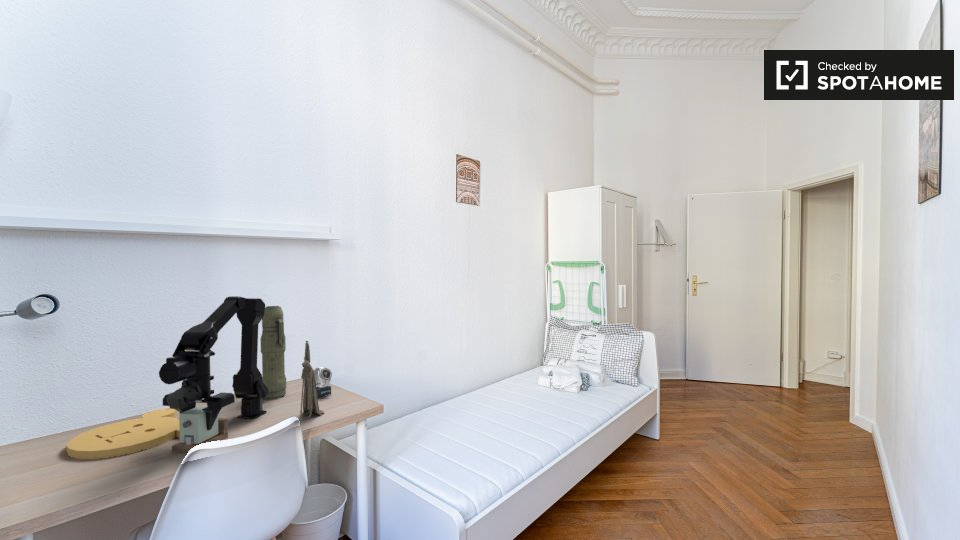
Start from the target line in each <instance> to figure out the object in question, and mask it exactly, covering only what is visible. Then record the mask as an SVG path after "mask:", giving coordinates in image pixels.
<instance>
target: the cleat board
mask: <svg viewBox="0 0 960 540" xmlns="http://www.w3.org/2000/svg"><path fill="white" fill-rule="evenodd" d="M228 420H229V419H228V418H220V417H218V434H217V435H215V436H213V437H211V438H209V439H207V440H205V441H203V442H201V443H206V442H211V441H217V440H221V441H223V440H225V439H227V438H228V437H229V428H228V427H229V425H228V424H229V423H228ZM201 443H199V444H201ZM199 444H194V436H193V435H190V436H188V437H186V442H185V443H180V441H179V442H177V443H175V444H173V445H171V452H174V451H176V452H175V453H177V451H178V453H188V451H189V450H190V449H191V448H193V447H194V446H196V445H199Z"/></svg>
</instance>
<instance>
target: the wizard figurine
mask: <svg viewBox="0 0 960 540" xmlns="http://www.w3.org/2000/svg"><path fill="white" fill-rule="evenodd" d="M304 345H305V346H304V357H303V362H302V363H301V366H302V371H301V376H300V377H301V378H300V379H302V386H301V402H300V412H299V413H300V414H299V415H300V418H302V413H303V412H306V413H305V414H306V415H308V416H307V417H306V419H310V418H311V417H312V416H313V413H315V414H317V415H318V416H321V417H322V416H323V415H324V414H325V411H324V410H321V409H320V405H319V400H318V399H319V398H317V390H316V387H317V386H316V381H315V375H314V370H315V369H314V368H313V367H312V364H311V352H310V350H311V349H310V344H309V341H308V340H305V344H304Z"/></svg>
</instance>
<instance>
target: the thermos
mask: <svg viewBox="0 0 960 540" xmlns="http://www.w3.org/2000/svg"><path fill="white" fill-rule="evenodd" d="M261 327H262V328H261V329H262V330H261V337H260V354H261V364H262V366H261V367H262V369H261V370H262V371H261V372H262V373H261V374H262V382H263V383H264V384H265V385H266V387H267V388H268V395H267V396H266V397H265V398H262V400H274V399H273V398H276V399H279V398H278V397H281V398H283V397H285V396H286V395H287V390H286V389H287V377H286V373H285V372H286V371H285V369H286V367H285V352H286V348H287V347H286V342H287V341H286V335H285V322H284V311H283V309H282V307H281V306H280V305H268V306H265V311H264V317H263V318H262V320H261ZM285 394H286V395H285ZM284 395H285V396H284ZM282 396H283V397H282Z"/></svg>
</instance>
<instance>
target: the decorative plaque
mask: <svg viewBox="0 0 960 540" xmlns="http://www.w3.org/2000/svg"><path fill="white" fill-rule="evenodd" d="M176 411H177V410H175V409H170V408H161V409H156V410H151V411H148V412H146V413H144V414H141V417H139V418H135V419H134V418H133V419H128V420H122V421H118V422H113V423H109V424H105V425H103V426H99V427H95V428H93V429H90V430H87V431H83V432H82V433H80V434H77V435H76V436H74V437H73V438H70V440H69V441H68V442H67V443H66V454H67V453H68V454H67V456H68V455H69V456H70V457H69V456H68V457H69V458H72V457H73V458H72V459H75V458H76V460H98V459H99V460H101V459H100V458H102V459H109V457H111V458H114V457H113V456H116V457H120V455H122V456H126V455H125V454H127V455H132V454H134V453H139V452H142V451H141V450H143V451H145V449H146V450H149V448H150V449H153V448H154V447H157V445H158V446H160V445H159V444H161V445H163V444H165V442H166V443H167V442H170V441H172V440H174V439H175V438H177V437H178V438H177V439H180V427H179V417H177V416H176V415H177V412H176ZM175 417H176V418H175ZM174 437H175V438H174ZM162 443H163V444H162ZM138 451H139V452H138ZM131 453H132V454H131Z"/></svg>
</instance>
